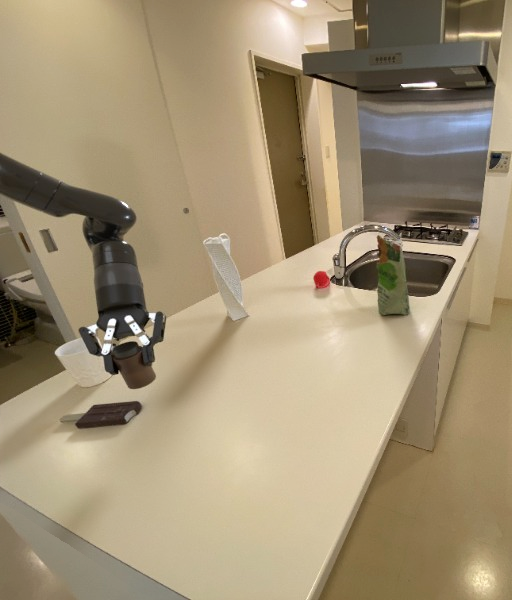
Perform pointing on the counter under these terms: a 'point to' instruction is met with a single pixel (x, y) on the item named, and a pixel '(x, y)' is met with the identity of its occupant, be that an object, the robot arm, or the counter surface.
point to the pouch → (391, 279)
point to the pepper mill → (132, 365)
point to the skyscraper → (226, 276)
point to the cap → (321, 280)
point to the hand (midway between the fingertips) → (131, 369)
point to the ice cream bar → (105, 415)
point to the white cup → (82, 363)
